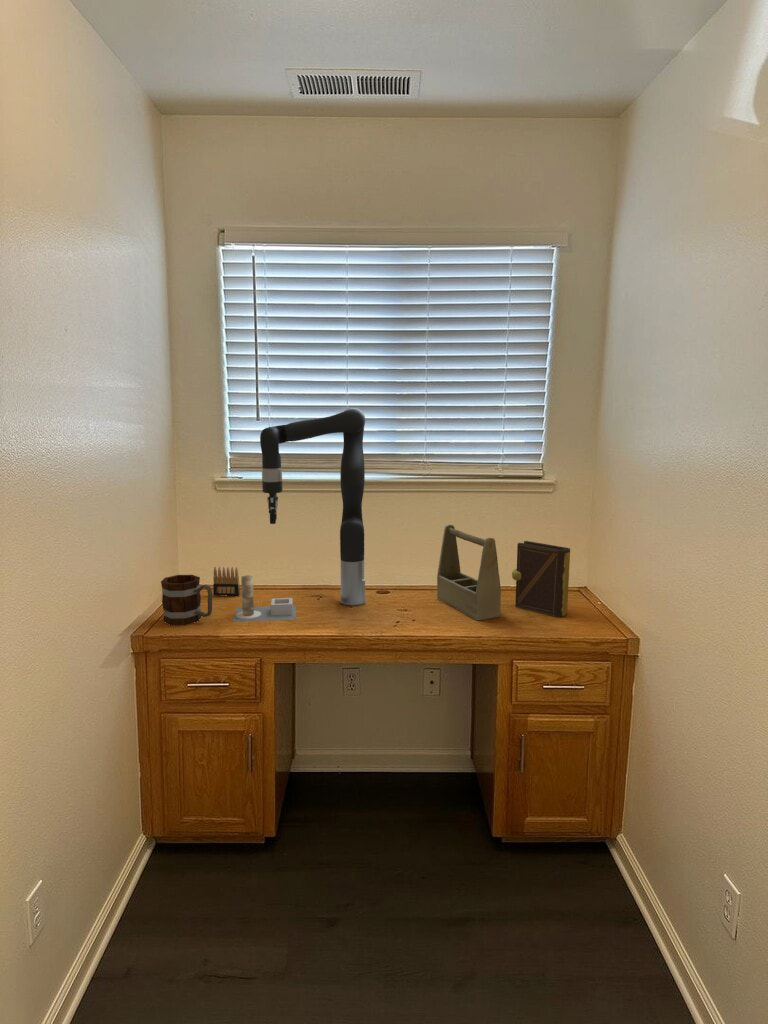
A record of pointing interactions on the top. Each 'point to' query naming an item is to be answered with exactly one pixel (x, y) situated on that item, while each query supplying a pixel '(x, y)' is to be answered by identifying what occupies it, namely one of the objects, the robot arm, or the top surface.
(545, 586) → the book
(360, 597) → the robot arm
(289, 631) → the top surface
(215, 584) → the ammunition clip
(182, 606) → the mug
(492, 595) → the caddy
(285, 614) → the board
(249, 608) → the peg
